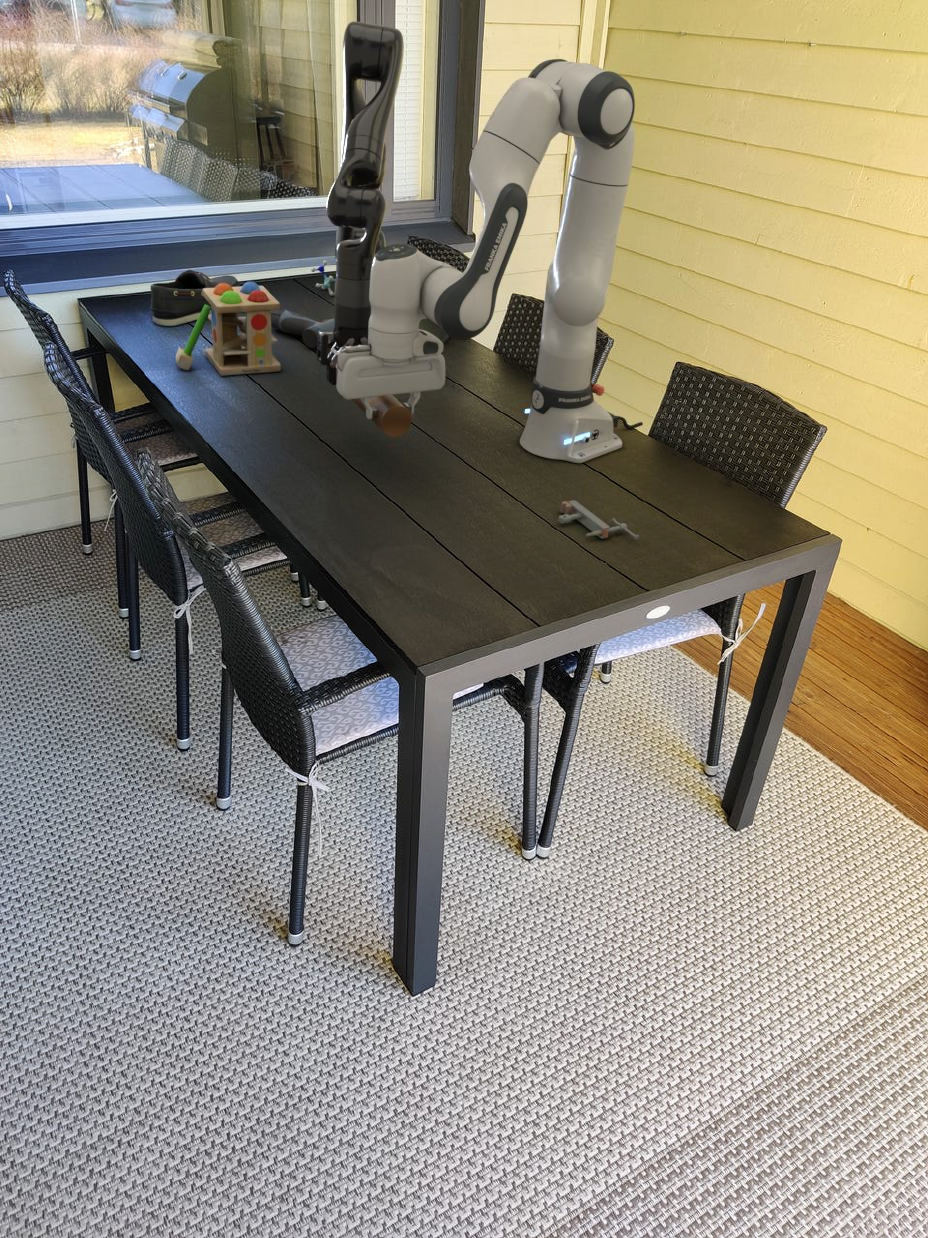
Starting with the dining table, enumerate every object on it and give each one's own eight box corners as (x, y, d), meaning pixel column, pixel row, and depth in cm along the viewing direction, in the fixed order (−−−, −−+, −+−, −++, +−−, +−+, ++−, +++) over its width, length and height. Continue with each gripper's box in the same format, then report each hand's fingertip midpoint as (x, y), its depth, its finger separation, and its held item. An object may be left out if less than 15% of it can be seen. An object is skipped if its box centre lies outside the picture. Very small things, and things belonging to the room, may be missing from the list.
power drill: (305, 316, 264) (364, 334, 256) (257, 332, 251) (318, 351, 243) (305, 296, 261) (365, 314, 253) (257, 311, 248) (318, 330, 240)
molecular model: (344, 287, 277) (332, 252, 275) (316, 300, 280) (304, 265, 279) (361, 290, 287) (349, 256, 286) (333, 302, 291) (322, 269, 289)
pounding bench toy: (183, 379, 220) (176, 299, 210) (169, 357, 231) (162, 280, 221) (282, 371, 230) (280, 294, 220) (264, 350, 240) (262, 276, 230)
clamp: (548, 504, 180) (591, 495, 185) (546, 514, 181) (590, 505, 186) (596, 542, 170) (641, 532, 174) (594, 553, 171) (639, 543, 175)
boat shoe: (260, 304, 271) (258, 265, 265) (170, 328, 247) (166, 286, 242) (226, 295, 276) (223, 257, 271) (135, 318, 253) (129, 277, 247)
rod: (332, 389, 197) (332, 359, 194) (360, 386, 199) (361, 357, 196) (380, 439, 179) (381, 408, 176) (411, 435, 182) (412, 404, 178)
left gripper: (325, 307, 179) (325, 392, 189) (397, 303, 185) (393, 385, 195) (311, 295, 185) (312, 378, 194) (381, 291, 191) (378, 372, 200)
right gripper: (344, 352, 167) (343, 428, 174) (451, 343, 175) (446, 416, 183) (331, 340, 171) (330, 415, 179) (436, 331, 180) (432, 403, 187)
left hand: (352, 381), depth 194 cm, fingers open, 8 cm apart
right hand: (390, 415), depth 181 cm, fingers closed on rod, 6 cm apart
